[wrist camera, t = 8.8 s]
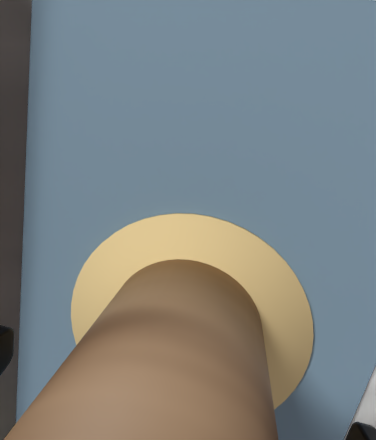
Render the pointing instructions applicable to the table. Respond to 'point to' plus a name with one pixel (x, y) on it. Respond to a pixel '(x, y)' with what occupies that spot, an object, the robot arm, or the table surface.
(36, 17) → the mat
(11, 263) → the table surface
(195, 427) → the brown rounded cylinder
